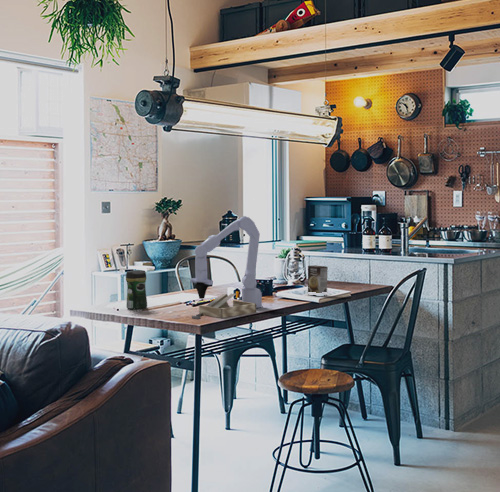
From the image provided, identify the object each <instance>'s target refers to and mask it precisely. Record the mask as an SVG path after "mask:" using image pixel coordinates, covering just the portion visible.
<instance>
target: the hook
mask: <svg viewBox="0 0 500 492" xmlns="http://www.w3.org/2000/svg"><path fill="white" fill-rule="evenodd" d="M201 316H202V317H203V316H204V315H203V313H201V314H199V313H198V314H194V315H192V316H191V319H193V320H194V319H195V320H199V319H201Z"/></svg>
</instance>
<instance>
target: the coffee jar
mask: <svg viewBox="0 0 500 492" xmlns="http://www.w3.org/2000/svg"><path fill="white" fill-rule="evenodd" d="M125 280H126V281H125V282H126V284H127V289H126V290H127V291H126V293H127V295H126V308H127V309H128V310H142V309H146V308H148V299H147V289H146V282H147V273H146V270H141V269H135V270H134V269H133V270H130V271H129V270H127V271H126V273H125Z"/></svg>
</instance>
